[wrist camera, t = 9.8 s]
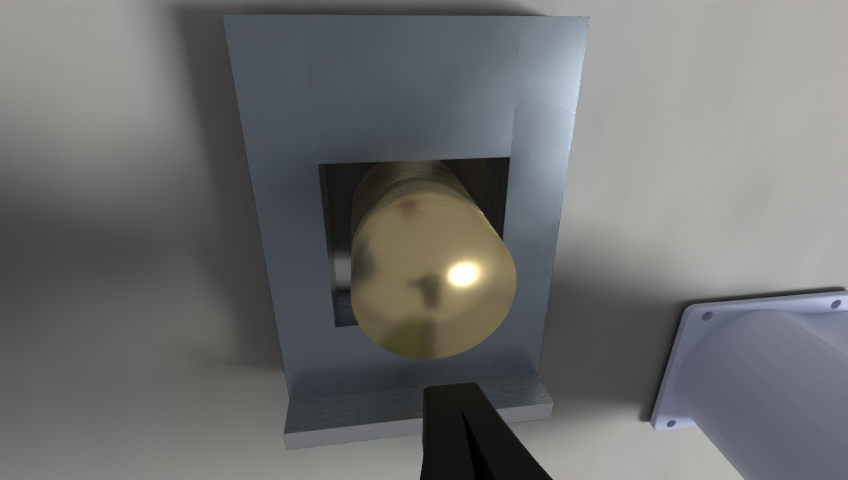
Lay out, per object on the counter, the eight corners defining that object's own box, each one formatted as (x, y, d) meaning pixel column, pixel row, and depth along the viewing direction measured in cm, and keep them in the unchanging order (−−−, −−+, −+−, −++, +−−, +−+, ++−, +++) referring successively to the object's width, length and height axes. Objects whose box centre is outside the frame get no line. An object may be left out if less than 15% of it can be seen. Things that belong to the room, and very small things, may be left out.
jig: (554, 18, 15) (620, 14, 11) (516, 351, 21) (550, 418, 17) (243, 17, 13) (202, 11, 10) (299, 372, 19) (286, 449, 16)
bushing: (474, 158, 16) (532, 220, 11) (456, 262, 18) (499, 359, 13) (354, 148, 16) (355, 210, 10) (349, 258, 17) (347, 359, 12)
